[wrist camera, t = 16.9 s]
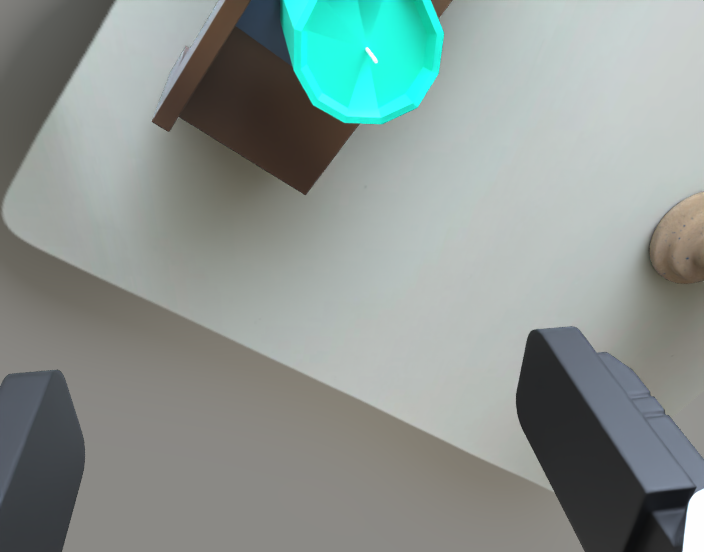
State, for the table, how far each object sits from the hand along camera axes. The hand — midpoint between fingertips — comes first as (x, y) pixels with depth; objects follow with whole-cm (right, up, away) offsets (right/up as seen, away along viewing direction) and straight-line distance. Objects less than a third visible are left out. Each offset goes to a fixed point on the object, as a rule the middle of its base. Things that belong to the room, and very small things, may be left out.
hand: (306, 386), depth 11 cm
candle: (0, +16, +22) cm, 27 cm away
